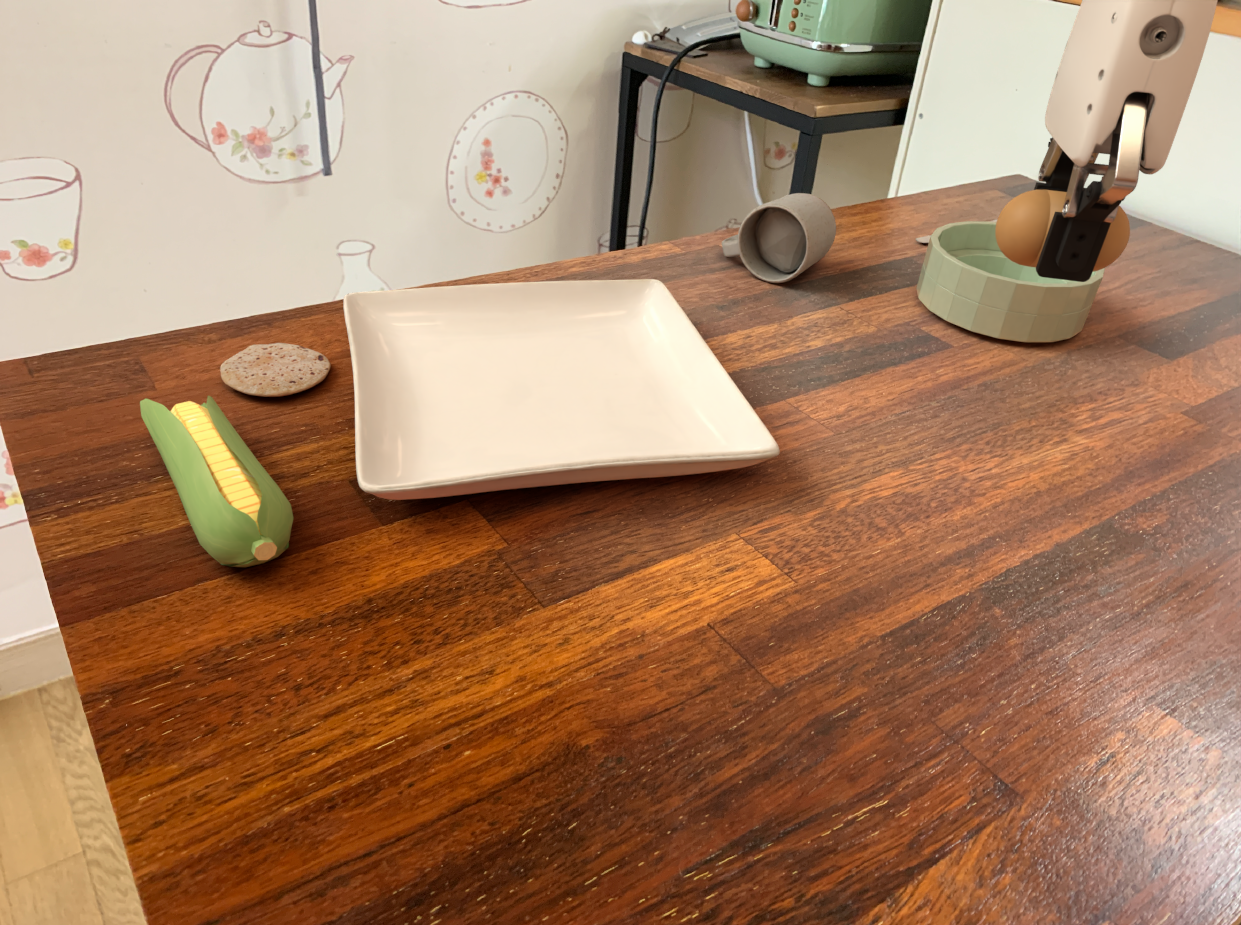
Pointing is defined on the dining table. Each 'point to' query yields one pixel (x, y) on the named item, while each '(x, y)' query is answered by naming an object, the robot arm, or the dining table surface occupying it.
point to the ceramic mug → (783, 237)
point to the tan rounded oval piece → (1030, 223)
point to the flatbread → (274, 369)
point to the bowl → (998, 288)
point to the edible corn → (220, 483)
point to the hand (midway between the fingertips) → (1052, 257)
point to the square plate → (538, 389)
